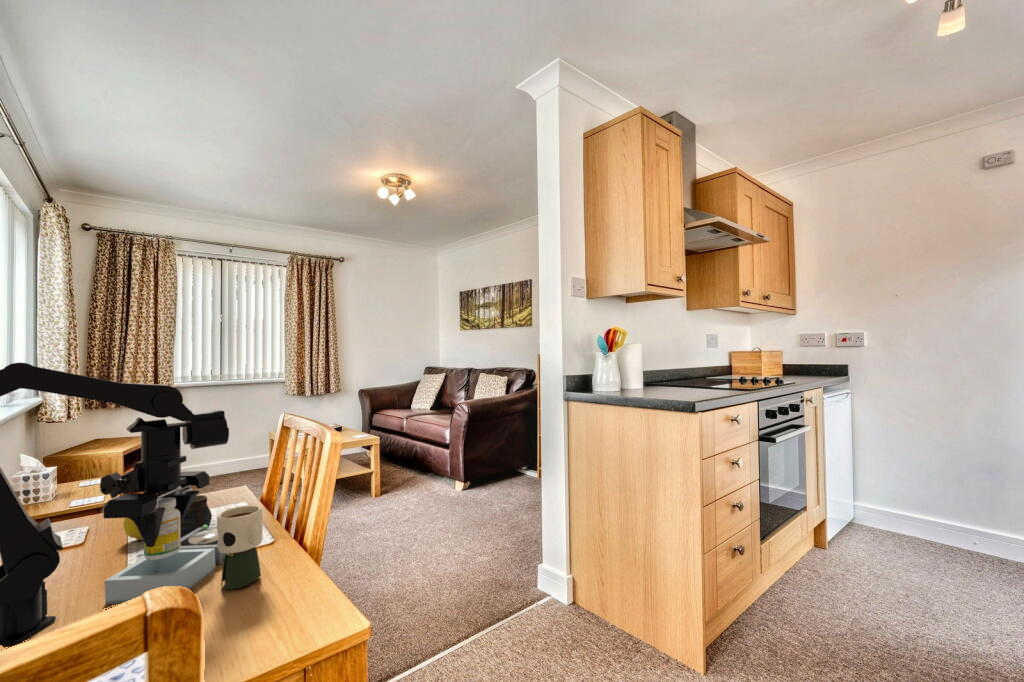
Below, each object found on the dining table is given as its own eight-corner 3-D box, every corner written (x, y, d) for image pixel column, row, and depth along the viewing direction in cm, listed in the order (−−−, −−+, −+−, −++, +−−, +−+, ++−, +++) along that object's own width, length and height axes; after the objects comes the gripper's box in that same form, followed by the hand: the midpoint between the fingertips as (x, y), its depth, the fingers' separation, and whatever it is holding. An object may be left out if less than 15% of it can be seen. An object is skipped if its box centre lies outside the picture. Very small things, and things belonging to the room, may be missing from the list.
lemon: (128, 537, 106) (127, 503, 106) (158, 533, 109) (157, 499, 109) (120, 547, 101) (119, 510, 101) (151, 541, 104) (150, 506, 104)
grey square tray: (219, 564, 91) (219, 543, 91) (163, 567, 91) (162, 545, 91) (249, 541, 102) (249, 522, 102) (199, 543, 102) (198, 524, 102)
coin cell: (215, 552, 93) (215, 541, 93) (180, 553, 93) (180, 542, 93) (235, 537, 100) (235, 527, 100) (202, 539, 100) (202, 529, 100)
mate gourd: (218, 530, 110) (217, 488, 110) (182, 542, 103) (181, 497, 103) (203, 524, 113) (202, 483, 114) (167, 535, 107) (166, 492, 107)
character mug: (205, 584, 84) (203, 512, 84) (245, 568, 90) (243, 500, 90) (236, 600, 78) (235, 523, 78) (277, 581, 84) (275, 510, 84)
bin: (174, 601, 78) (173, 577, 78) (105, 604, 78) (104, 580, 78) (215, 568, 90) (214, 548, 90) (155, 571, 89) (154, 550, 89)
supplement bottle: (174, 557, 82) (173, 503, 82) (137, 562, 80) (137, 507, 80) (185, 545, 87) (184, 494, 87) (151, 550, 85) (151, 497, 86)
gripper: (154, 444, 93) (154, 522, 93) (68, 468, 74) (68, 565, 74) (210, 442, 93) (211, 520, 93) (138, 466, 75) (139, 563, 74)
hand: (162, 539), depth 84 cm, fingers closed on supplement bottle, 5 cm apart
